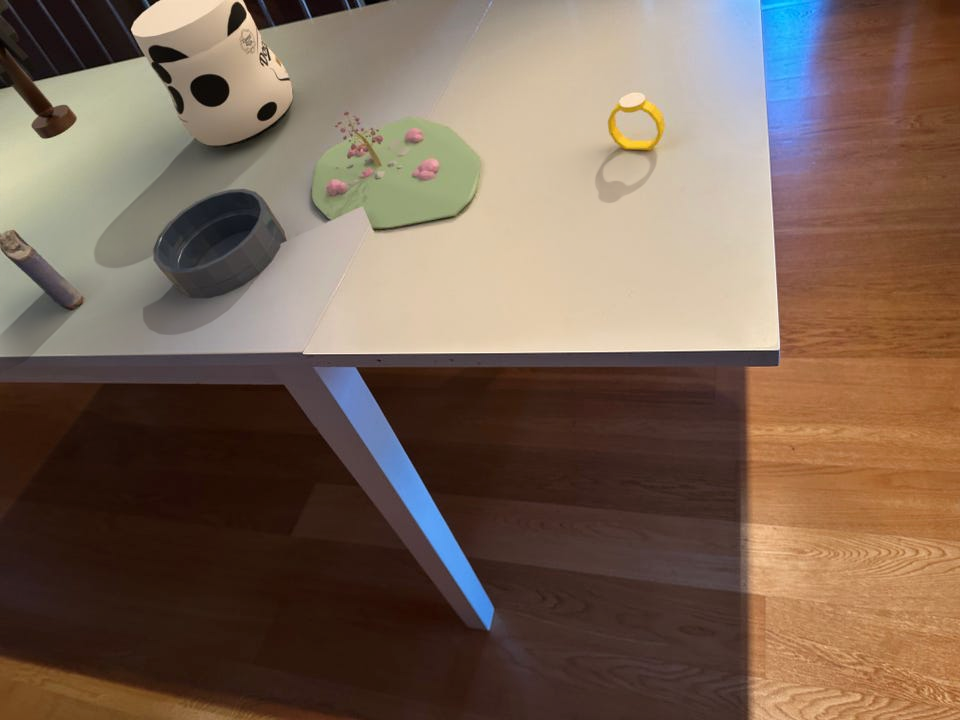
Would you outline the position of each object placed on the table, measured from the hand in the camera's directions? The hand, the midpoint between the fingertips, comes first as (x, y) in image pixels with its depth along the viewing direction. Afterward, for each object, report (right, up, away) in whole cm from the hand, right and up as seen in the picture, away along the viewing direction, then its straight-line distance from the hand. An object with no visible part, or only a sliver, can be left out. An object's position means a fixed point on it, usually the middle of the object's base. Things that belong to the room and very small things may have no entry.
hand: (18, 71), depth 76 cm
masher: (-1, -3, +8) cm, 9 cm away
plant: (+43, -10, +8) cm, 44 cm away
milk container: (+17, +4, +28) cm, 33 cm away
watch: (+70, -9, -1) cm, 71 cm away
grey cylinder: (-2, -24, +12) cm, 27 cm away
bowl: (+23, -21, +6) cm, 32 cm away
